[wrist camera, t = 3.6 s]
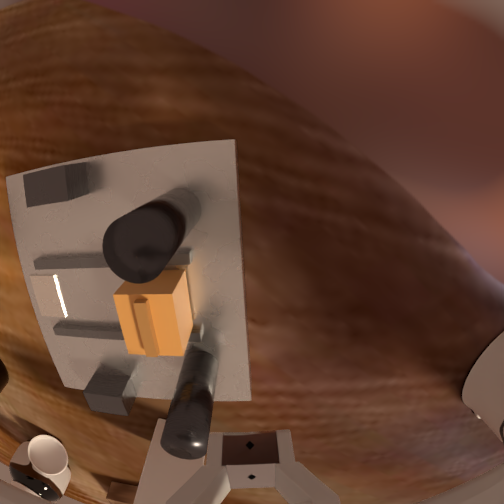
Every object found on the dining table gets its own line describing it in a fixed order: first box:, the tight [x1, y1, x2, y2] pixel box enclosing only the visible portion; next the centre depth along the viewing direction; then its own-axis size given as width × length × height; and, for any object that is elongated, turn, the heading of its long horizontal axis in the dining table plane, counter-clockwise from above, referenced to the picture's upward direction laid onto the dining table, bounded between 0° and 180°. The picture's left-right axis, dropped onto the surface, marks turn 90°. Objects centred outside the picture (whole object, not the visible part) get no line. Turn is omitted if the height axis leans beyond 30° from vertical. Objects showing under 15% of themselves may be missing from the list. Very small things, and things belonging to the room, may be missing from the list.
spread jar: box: [9, 435, 71, 502], centre depth 31 cm, size 12×11×12 cm
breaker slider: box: [113, 270, 193, 357], centre depth 21 cm, size 4×5×5 cm
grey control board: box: [6, 139, 251, 460], centre depth 20 cm, size 20×22×12 cm
